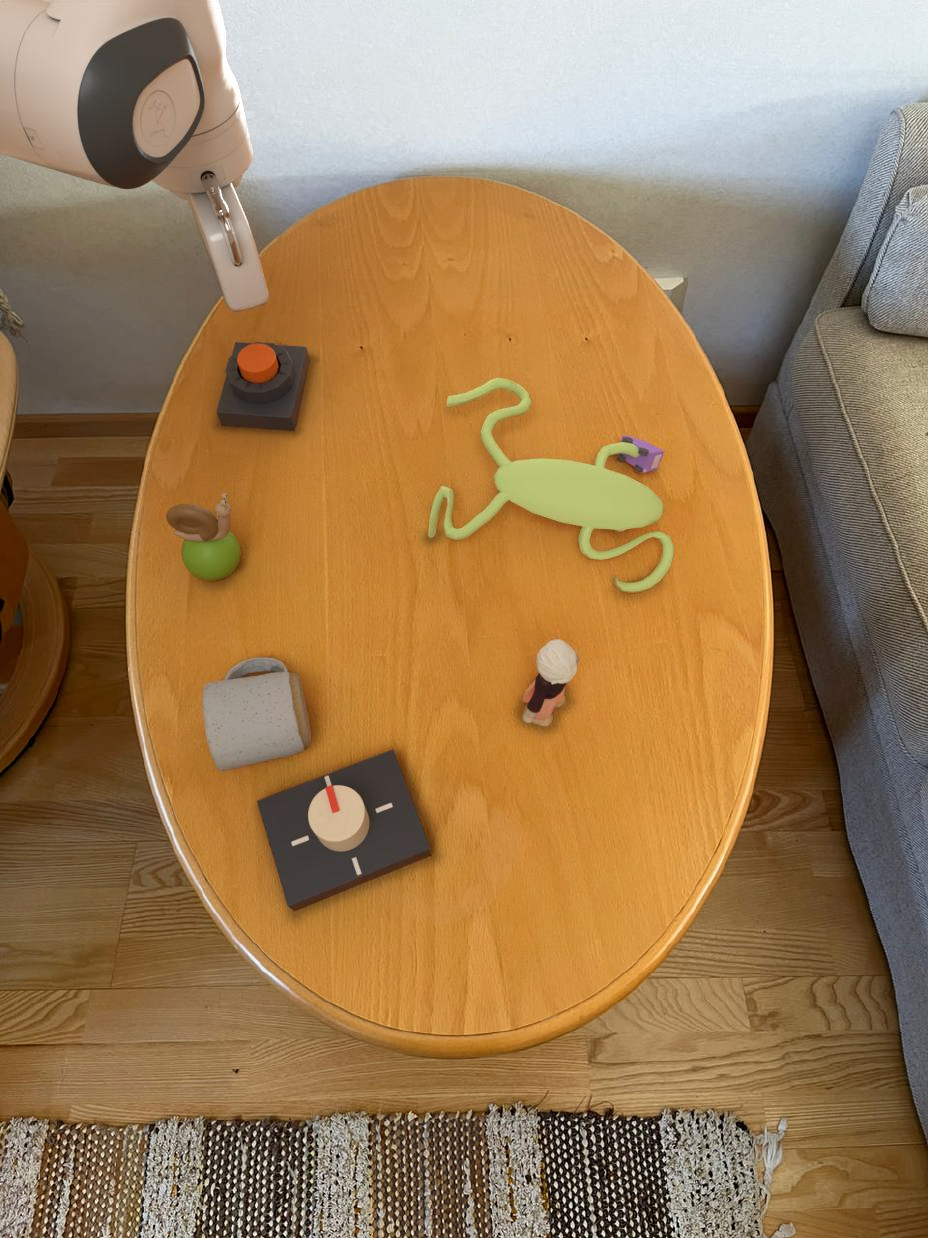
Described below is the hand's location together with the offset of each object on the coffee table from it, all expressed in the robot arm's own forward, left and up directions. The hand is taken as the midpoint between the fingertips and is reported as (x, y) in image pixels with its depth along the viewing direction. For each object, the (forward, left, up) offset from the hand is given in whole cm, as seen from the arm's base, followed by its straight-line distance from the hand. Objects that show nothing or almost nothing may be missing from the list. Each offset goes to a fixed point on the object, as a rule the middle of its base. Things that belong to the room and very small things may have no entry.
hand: (235, 278), depth 78 cm
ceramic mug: (-11, -36, -16) cm, 41 cm away
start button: (0, 0, -12) cm, 12 cm away
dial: (-7, -49, -13) cm, 51 cm away
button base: (0, 0, -16) cm, 16 cm away
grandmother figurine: (+13, -45, -16) cm, 49 cm away
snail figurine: (-10, -20, -16) cm, 27 cm away
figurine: (+23, -24, -16) cm, 37 cm away
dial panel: (-7, -49, -16) cm, 52 cm away
